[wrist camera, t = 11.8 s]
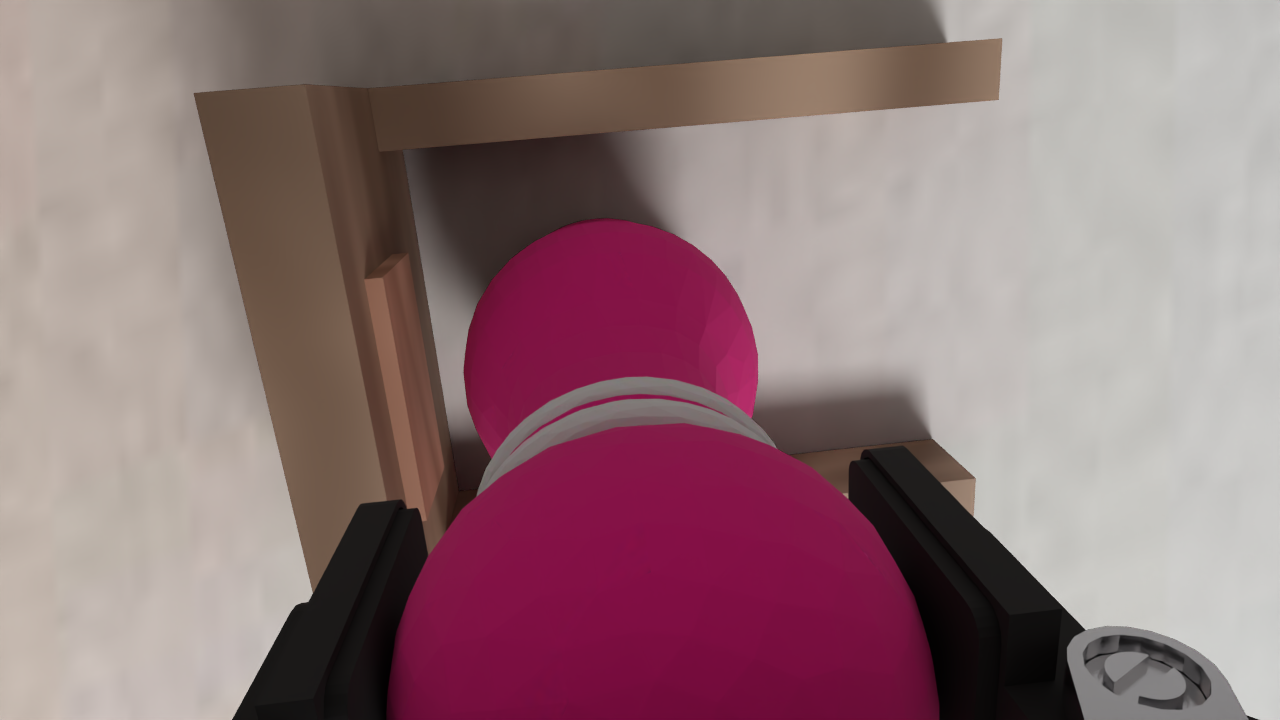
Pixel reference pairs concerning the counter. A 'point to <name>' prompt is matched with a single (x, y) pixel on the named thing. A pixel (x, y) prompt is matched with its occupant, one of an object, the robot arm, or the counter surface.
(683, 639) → the pepper mill
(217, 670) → the counter surface
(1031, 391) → the counter surface
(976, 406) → the counter surface
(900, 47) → the spice rack
